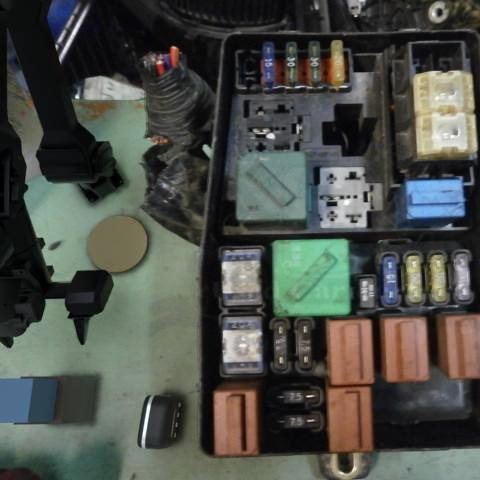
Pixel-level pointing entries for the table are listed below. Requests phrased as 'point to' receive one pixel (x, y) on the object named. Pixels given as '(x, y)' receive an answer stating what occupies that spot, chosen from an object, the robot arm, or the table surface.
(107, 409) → the table surface
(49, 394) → the relay
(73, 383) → the block
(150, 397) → the battery charger
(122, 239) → the tan disc
